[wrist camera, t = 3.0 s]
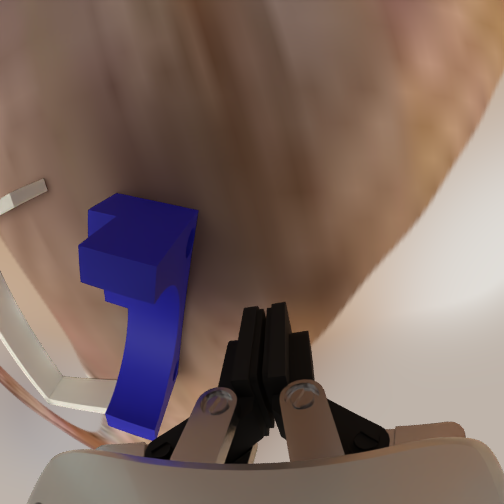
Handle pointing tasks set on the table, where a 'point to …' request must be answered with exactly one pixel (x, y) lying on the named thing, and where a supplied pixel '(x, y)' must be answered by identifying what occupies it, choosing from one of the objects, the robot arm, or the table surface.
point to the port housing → (31, 351)
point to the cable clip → (142, 298)
